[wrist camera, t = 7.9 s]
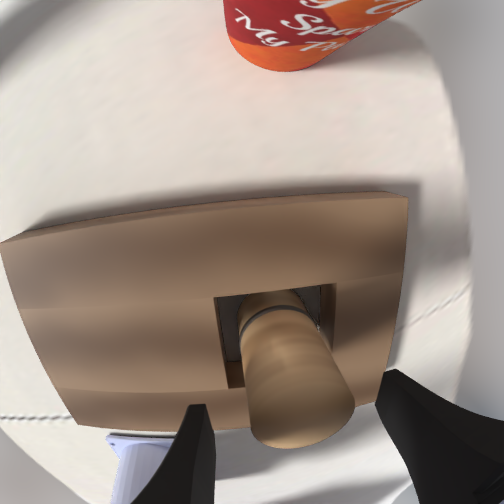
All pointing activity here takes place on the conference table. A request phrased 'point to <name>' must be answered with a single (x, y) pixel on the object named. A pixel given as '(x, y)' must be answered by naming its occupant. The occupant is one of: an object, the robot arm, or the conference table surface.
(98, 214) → the conference table surface
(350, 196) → the socket board
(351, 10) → the paper cup
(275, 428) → the peg
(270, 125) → the conference table surface
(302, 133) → the conference table surface
